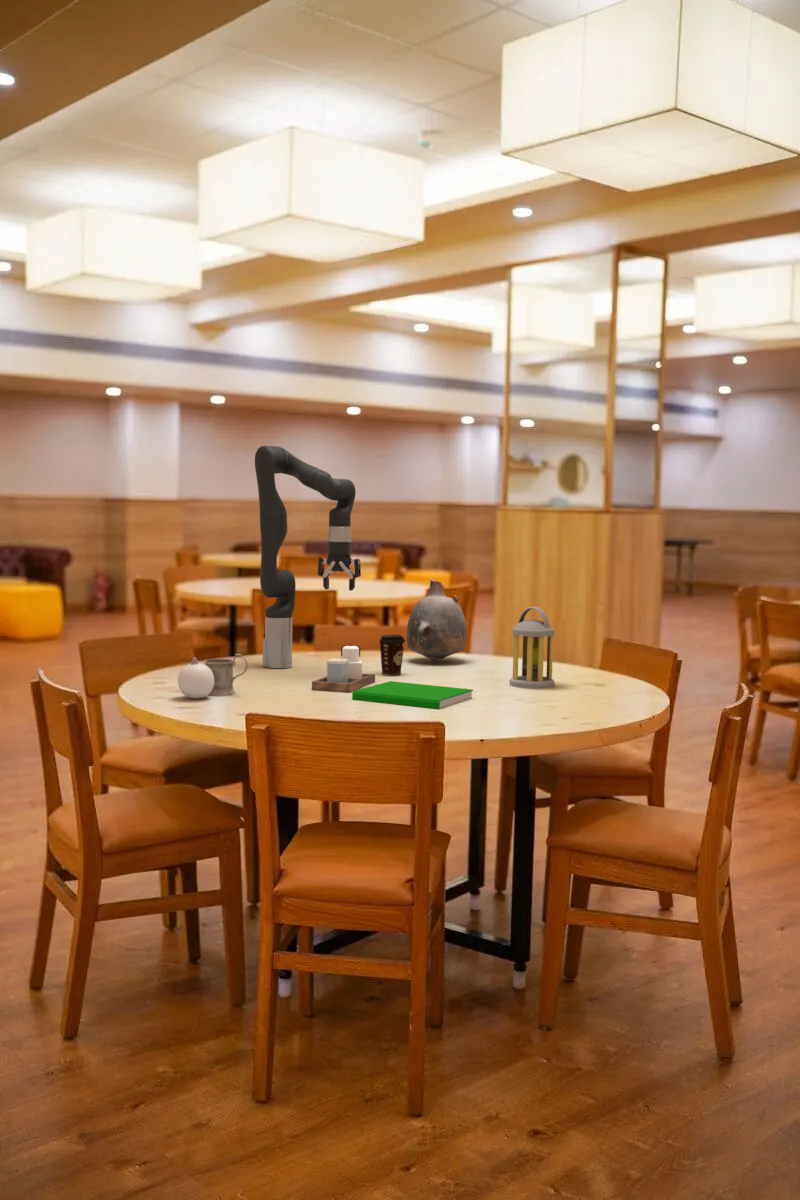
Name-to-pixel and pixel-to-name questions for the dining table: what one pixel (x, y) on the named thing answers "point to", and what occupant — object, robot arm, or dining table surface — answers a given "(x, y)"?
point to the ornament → (196, 680)
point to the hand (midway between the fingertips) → (339, 589)
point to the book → (412, 694)
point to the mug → (223, 675)
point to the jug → (436, 625)
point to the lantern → (533, 652)
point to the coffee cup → (391, 654)
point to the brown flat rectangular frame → (343, 684)
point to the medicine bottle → (352, 660)
